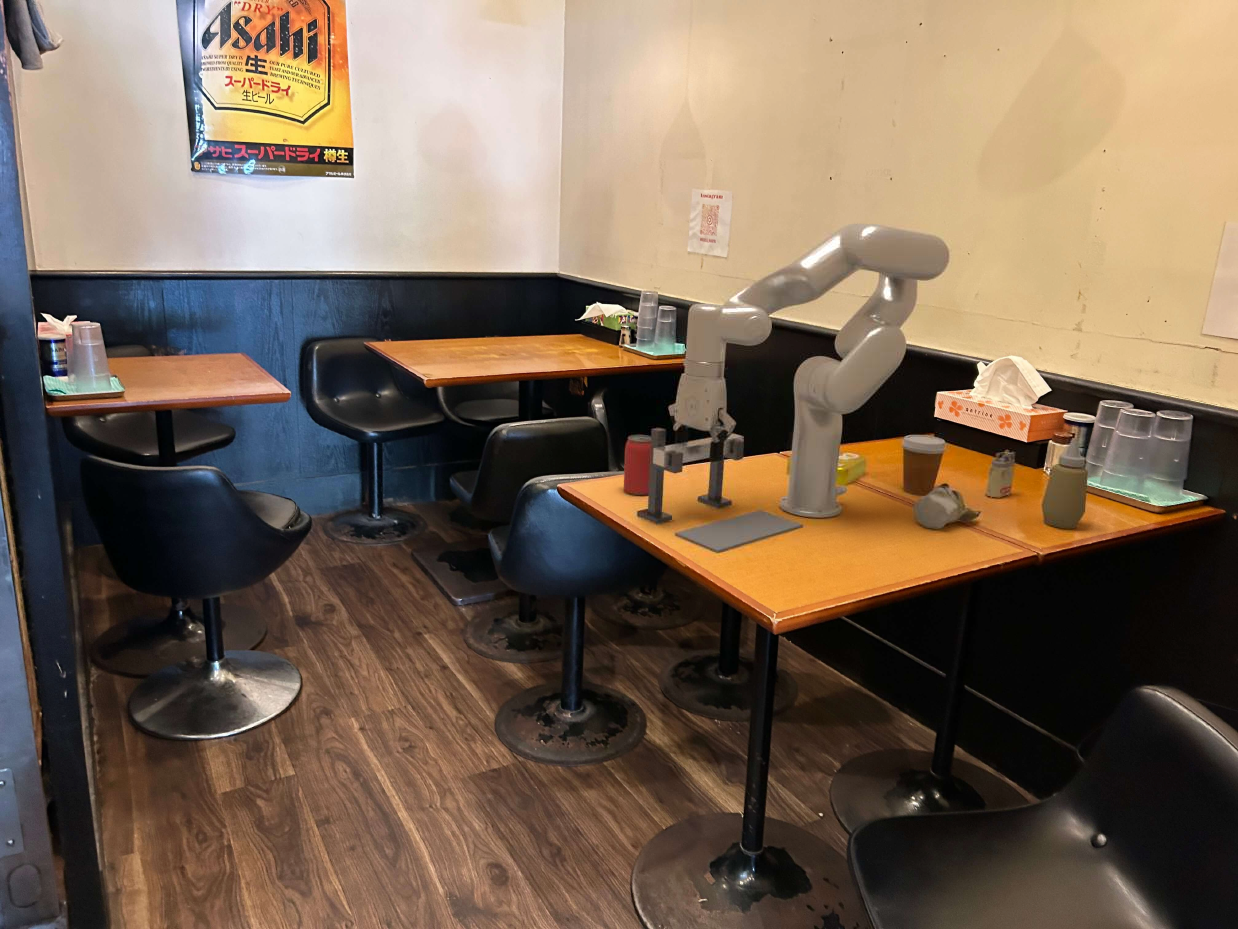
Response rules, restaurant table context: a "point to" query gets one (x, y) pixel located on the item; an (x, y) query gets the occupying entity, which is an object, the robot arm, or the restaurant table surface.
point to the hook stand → (657, 472)
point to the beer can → (637, 465)
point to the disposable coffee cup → (921, 463)
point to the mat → (738, 530)
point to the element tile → (846, 467)
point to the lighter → (1001, 475)
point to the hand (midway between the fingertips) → (698, 455)
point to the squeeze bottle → (1066, 490)
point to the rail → (691, 450)
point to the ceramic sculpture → (942, 508)
